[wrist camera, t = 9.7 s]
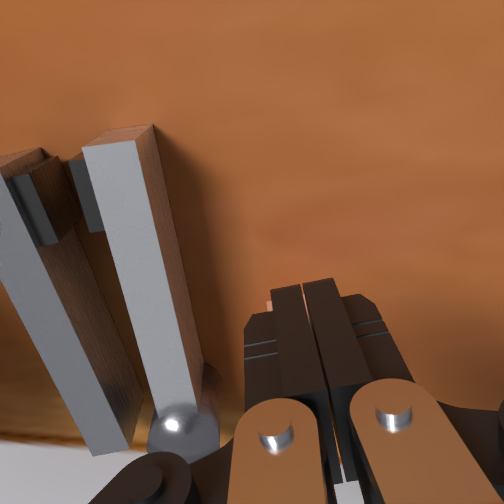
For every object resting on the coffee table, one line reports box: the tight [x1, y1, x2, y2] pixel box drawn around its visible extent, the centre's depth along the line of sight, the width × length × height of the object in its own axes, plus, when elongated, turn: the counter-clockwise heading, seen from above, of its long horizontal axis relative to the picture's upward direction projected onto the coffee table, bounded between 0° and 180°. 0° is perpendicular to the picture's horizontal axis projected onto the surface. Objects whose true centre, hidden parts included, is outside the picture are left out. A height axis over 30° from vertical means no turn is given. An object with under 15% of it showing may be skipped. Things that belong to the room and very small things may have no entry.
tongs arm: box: [68, 124, 222, 464], centre depth 22 cm, size 17×4×5 cm, turn 7°
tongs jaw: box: [0, 147, 144, 456], centre depth 22 cm, size 15×3×4 cm, turn 13°
